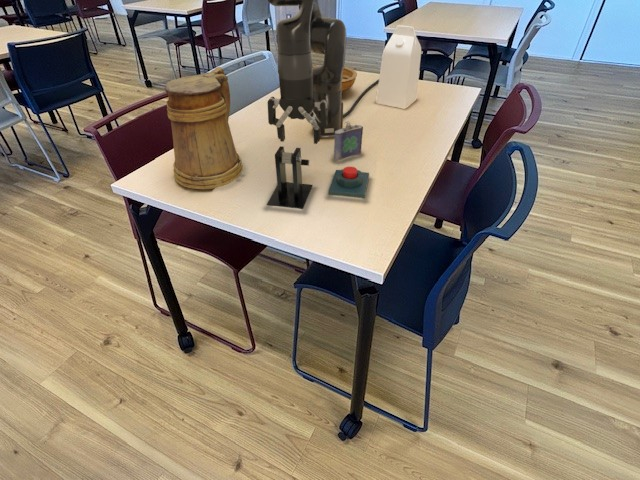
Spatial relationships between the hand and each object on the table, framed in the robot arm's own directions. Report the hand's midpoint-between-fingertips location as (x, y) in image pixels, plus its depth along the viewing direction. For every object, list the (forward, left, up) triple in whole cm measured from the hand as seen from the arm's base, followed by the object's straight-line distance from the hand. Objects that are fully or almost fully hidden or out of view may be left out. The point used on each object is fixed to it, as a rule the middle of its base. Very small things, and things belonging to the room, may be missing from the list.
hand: (299, 141), depth 95 cm
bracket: (+8, +5, -11) cm, 14 cm away
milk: (-66, -19, -11) cm, 70 cm away
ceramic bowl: (-54, -45, -11) cm, 71 cm away
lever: (+5, +3, -4) cm, 7 cm away
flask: (-18, 0, -11) cm, 22 cm away
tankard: (+14, -21, -11) cm, 28 cm away
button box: (-6, +12, -11) cm, 17 cm away
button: (-6, +12, -8) cm, 15 cm away
